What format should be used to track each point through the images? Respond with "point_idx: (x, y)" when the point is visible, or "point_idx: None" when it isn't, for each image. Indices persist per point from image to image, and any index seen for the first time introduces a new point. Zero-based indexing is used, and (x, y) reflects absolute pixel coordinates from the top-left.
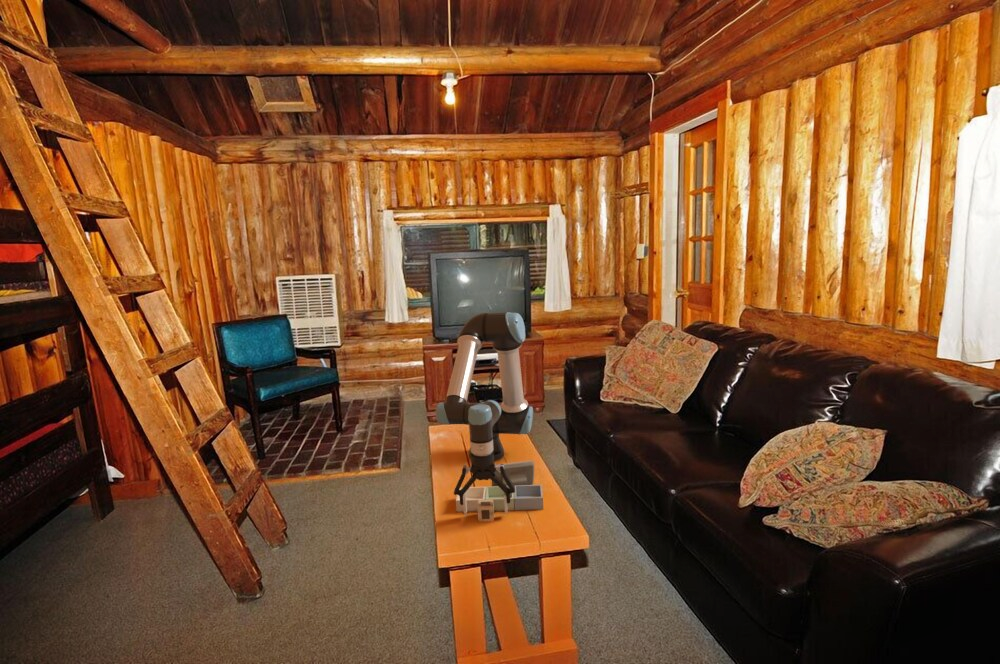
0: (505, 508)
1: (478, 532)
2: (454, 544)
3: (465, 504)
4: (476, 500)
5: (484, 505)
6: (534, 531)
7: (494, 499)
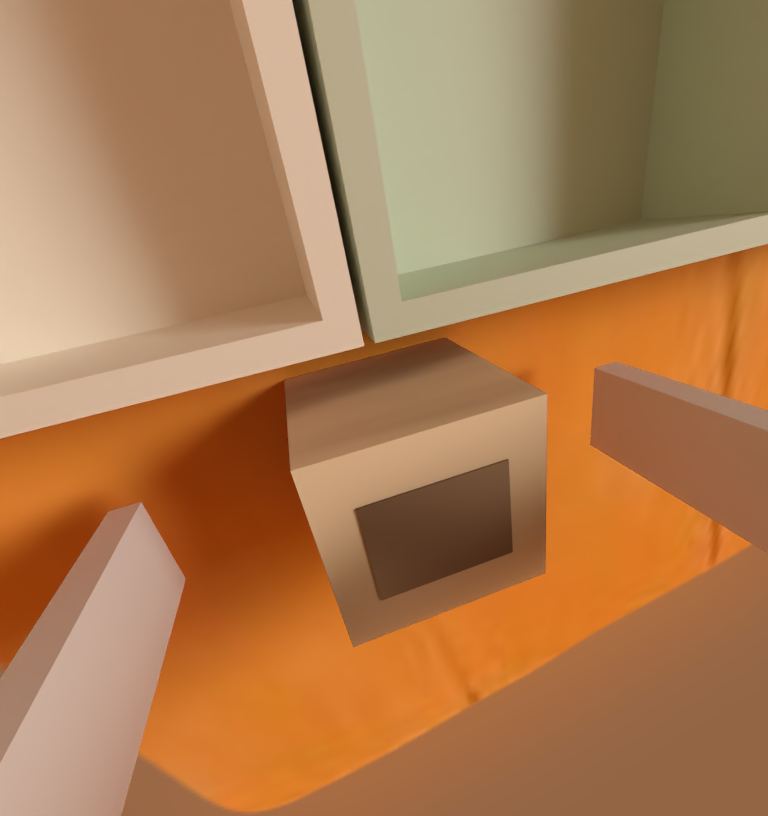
0: (650, 473)
1: None
2: (262, 767)
3: (138, 740)
4: (207, 380)
5: (437, 577)
6: None
7: (535, 300)
